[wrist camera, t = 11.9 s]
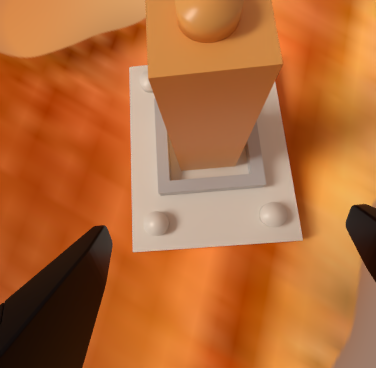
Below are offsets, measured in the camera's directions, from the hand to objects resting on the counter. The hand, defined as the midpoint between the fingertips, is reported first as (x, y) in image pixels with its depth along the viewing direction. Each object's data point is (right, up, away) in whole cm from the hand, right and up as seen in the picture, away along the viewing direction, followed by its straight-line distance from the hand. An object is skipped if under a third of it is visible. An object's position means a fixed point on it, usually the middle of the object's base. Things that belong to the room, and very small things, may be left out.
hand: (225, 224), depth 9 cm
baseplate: (0, +5, +14) cm, 14 cm away
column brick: (0, +5, +12) cm, 13 cm away
